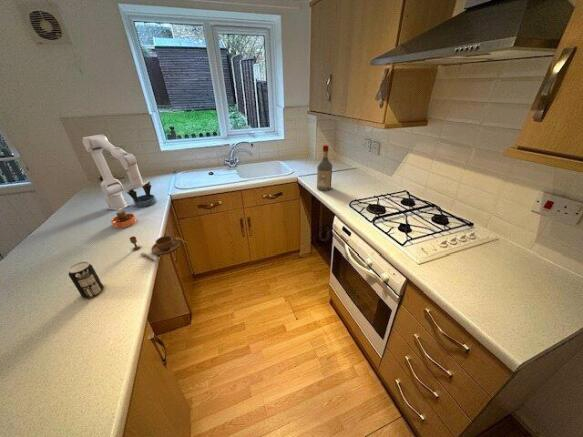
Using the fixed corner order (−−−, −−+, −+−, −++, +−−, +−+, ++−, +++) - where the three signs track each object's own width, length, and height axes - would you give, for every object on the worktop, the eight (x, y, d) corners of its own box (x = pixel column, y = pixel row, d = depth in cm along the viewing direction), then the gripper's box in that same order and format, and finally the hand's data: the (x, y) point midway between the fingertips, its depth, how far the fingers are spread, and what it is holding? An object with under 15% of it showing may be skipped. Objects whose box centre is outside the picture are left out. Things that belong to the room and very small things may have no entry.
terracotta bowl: (108, 228, 128) (105, 222, 126) (124, 219, 138) (122, 212, 136) (126, 230, 126) (123, 223, 125) (141, 220, 136) (139, 214, 134)
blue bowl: (131, 207, 152) (128, 201, 150) (144, 199, 162) (142, 194, 160) (147, 208, 150) (145, 202, 148) (160, 200, 160) (158, 194, 158)
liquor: (329, 191, 166) (331, 147, 151) (316, 190, 168) (317, 146, 154) (331, 186, 173) (333, 144, 159) (319, 185, 176) (320, 143, 161)
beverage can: (90, 286, 90) (75, 261, 85) (108, 285, 91) (94, 260, 85) (77, 299, 85) (61, 274, 79) (97, 298, 85) (82, 272, 79)
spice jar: (119, 225, 131) (113, 213, 127) (124, 221, 134) (119, 209, 130) (125, 225, 130) (120, 213, 126) (131, 222, 133) (126, 210, 130)
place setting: (155, 263, 101) (151, 252, 98) (130, 249, 111) (126, 239, 108) (190, 243, 114) (187, 232, 111) (165, 232, 124) (162, 222, 121)
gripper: (127, 182, 123) (136, 205, 130) (151, 173, 135) (158, 195, 142) (118, 180, 126) (127, 203, 132) (142, 172, 138) (150, 194, 144)
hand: (142, 199), depth 137 cm, fingers open, 7 cm apart
